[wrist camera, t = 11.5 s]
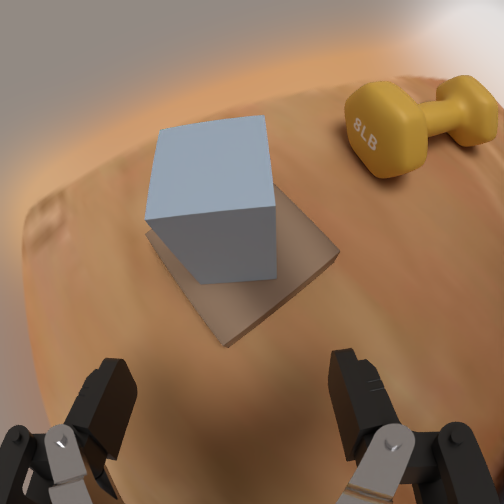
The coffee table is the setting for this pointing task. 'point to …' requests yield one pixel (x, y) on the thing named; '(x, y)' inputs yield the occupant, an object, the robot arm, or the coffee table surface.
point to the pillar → (216, 199)
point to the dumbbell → (416, 122)
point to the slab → (260, 291)
